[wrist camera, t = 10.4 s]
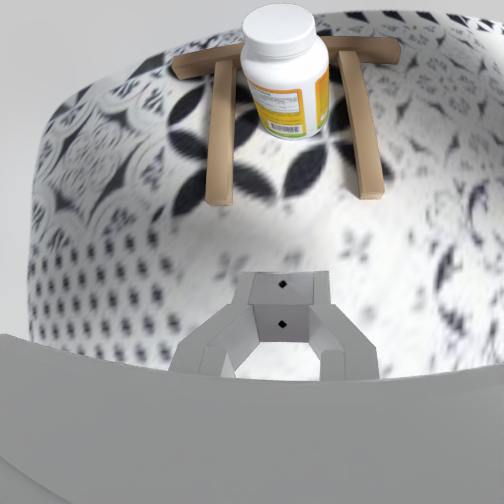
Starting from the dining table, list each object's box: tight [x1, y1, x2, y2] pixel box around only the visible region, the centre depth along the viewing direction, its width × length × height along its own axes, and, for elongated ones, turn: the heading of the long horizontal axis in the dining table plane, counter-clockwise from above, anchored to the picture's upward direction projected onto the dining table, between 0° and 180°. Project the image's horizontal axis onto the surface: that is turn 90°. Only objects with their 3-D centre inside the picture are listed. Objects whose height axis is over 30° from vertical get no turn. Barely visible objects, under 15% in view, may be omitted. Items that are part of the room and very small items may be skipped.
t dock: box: [171, 36, 401, 206], centre depth 22 cm, size 20×14×2 cm
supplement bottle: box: [240, 3, 329, 140], centre depth 18 cm, size 5×5×10 cm
